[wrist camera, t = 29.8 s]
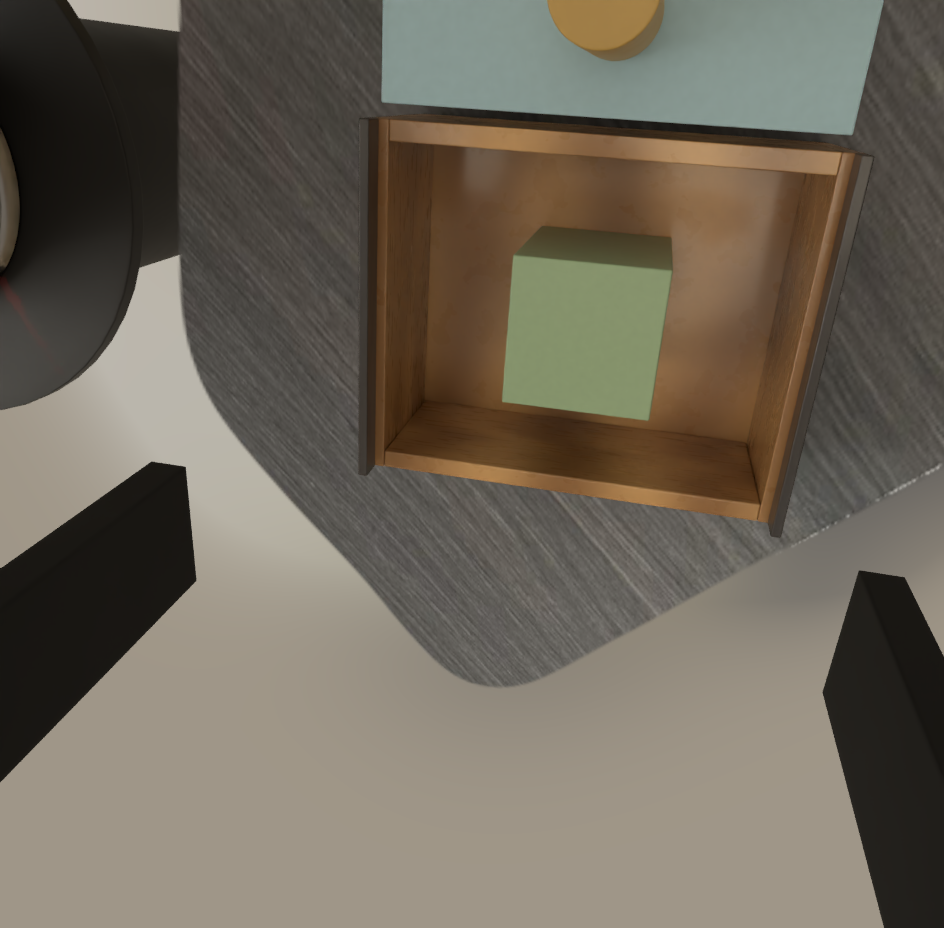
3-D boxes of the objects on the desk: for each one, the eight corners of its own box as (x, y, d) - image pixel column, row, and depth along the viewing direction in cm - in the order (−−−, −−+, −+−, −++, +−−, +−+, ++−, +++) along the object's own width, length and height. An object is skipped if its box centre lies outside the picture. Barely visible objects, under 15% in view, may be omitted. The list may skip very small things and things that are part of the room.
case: (413, 406, 45) (358, 475, 36) (422, 113, 38) (358, 118, 30) (758, 452, 42) (780, 538, 33) (827, 142, 35) (875, 155, 27)
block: (530, 349, 41) (501, 402, 34) (541, 225, 39) (512, 254, 31) (652, 363, 40) (649, 421, 33) (671, 237, 38) (673, 270, 30)
